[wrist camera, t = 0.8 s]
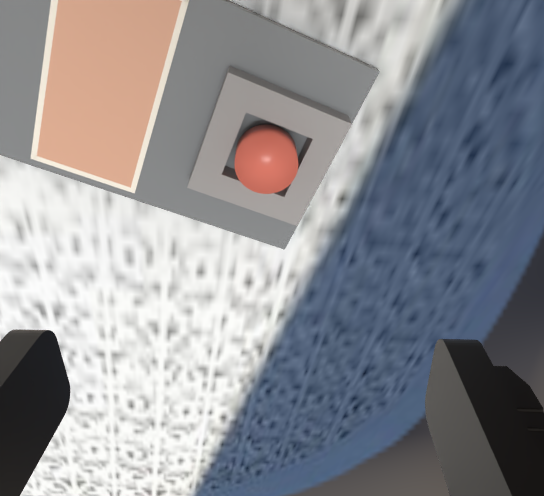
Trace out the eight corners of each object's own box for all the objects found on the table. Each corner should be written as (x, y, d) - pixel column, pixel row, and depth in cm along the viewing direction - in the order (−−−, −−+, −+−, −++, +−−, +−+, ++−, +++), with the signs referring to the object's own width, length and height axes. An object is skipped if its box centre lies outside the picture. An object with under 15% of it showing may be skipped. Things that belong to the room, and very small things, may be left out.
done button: (227, 168, 34) (225, 181, 33) (248, 114, 32) (248, 125, 31) (281, 188, 36) (282, 201, 34) (306, 138, 33) (308, 149, 32)
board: (-9, 145, 35) (-25, 159, 33) (9, -100, 26) (-11, -101, 25) (284, 244, 41) (285, 260, 39) (377, 68, 32) (384, 78, 30)
